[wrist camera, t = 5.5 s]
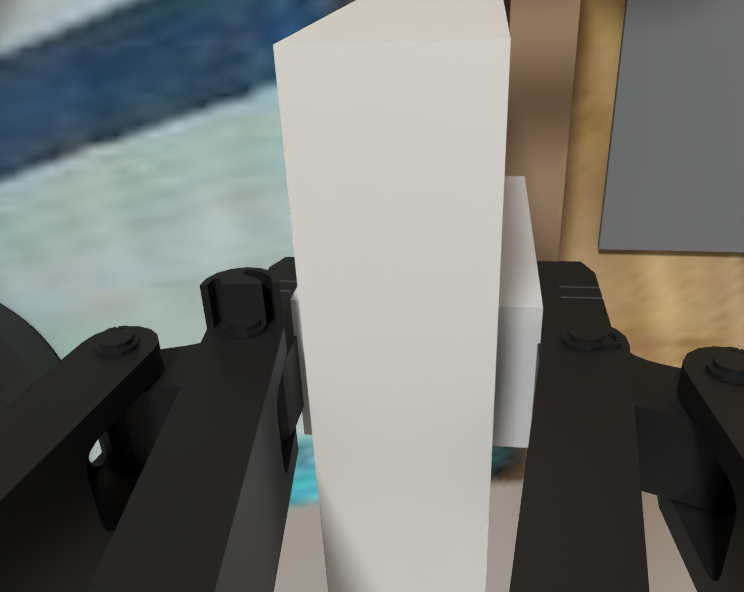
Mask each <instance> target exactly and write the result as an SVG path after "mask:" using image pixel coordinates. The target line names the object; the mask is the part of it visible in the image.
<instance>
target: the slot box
mask: <svg viewBox="0 0 744 592" xmlns="http://www.w3.org/2000/svg"><path fill="white" fill-rule="evenodd" d="M503 1H504V6H505V12H506V17H507V22H508V27H509V33H510V38H511V45H510V67H509V88H508V110H507V132H506V154H505V176H525V182H526V189H527V197H528V204H529V211H530V218H531V225H532V232H533V239H534V247H535V254H536V261H558V256H559V245H560V233H561V222H562V210H563V199H564V187H565V176H566V164H567V152H568V141H569V129H570V118H571V106H572V95H573V83H574V72H575V60H576V49H577V37H578V26H579V14H580V2H581V0H503Z"/></svg>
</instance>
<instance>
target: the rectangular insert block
mask: <svg viewBox="0 0 744 592" xmlns="http://www.w3.org/2000/svg"><path fill="white" fill-rule="evenodd" d="M510 45H511V38H510V33H509V27H508V22H507V17H506V12H505V6H504V1H503V0H356V1H354V2H352V3H350V4H348V5H346V6H345V7H343V8H341V9H339V10H337V11H335V12H333V13H331V14H330V15H328V16H326V17H324V18H322V19H320V20H318V21H317V22H315V23H313V24H311V25H309V26H307V27H305V28H303V29H302V30H300V31H298V32H296V33H294V34H292V35H290V36H289V37H287V38H285V39H283V40H281V41H279V42H277V43H276V44H274V45H273V48H274V58H275V68H276V78H277V88H278V98H279V108H280V118H281V128H282V138H283V148H284V157H285V167H286V177H287V187H288V197H289V207H290V217H291V227H292V237H293V247H294V257H295V267H296V277H297V287H298V297H299V307H300V317H301V326H302V336H303V346H304V356H305V366H306V376H307V386H308V396H309V406H310V416H311V426H312V436H313V446H314V456H315V466H316V476H317V485H318V495H319V505H320V515H321V524H322V535H323V545H324V554H325V565H326V575H327V584H328V592H485V591H486V571H487V547H488V527H489V504H490V483H491V461H492V439H493V417H494V395H495V373H496V351H497V329H498V308H499V286H500V264H501V242H502V220H503V198H504V176H505V154H506V132H507V110H508V88H509V67H510Z"/></svg>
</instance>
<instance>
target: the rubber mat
mask: <svg viewBox="0 0 744 592" xmlns="http://www.w3.org/2000/svg"><path fill="white" fill-rule="evenodd" d="M598 248H599V249H615V250H659V251H703V252H744V0H626V4H625V13H624V22H623V31H622V39H621V48H620V57H619V66H618V74H617V83H616V92H615V101H614V110H613V118H612V127H611V136H610V145H609V154H608V162H607V171H606V180H605V189H604V197H603V206H602V215H601V224H600V233H599V241H598Z"/></svg>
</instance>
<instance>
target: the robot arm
mask: <svg viewBox="0 0 744 592" xmlns="http://www.w3.org/2000/svg"><path fill="white" fill-rule="evenodd" d="M200 290H201V296H202V302H203V307H204V313H205V319H206V325H207V330H206V332H205V335H204V337H203V339H202V341H201V343H198V344H193V345H188V346H181V347H174V348H167V349H160V345H159V340H158V335H157V334H156V333H155V332H154V331H152V330H151V329H148V328H144V327H140V326H118V328H116V327H113V328H109V329H107V330H106V331H103V332H101V333H98V334H95V335H93V336H92V337H90V338H88V339H87V340H85V341H84V342H82V343H81V344H80V345H79V346H78V347H76V348H75V349H74V350H73V351H72V352H70V353H69V354H68V355H67V356H66V357H64V358H63V359H62V360H61V361H60V362H59V360H58V358H57V357H56V355H55V354H54V353H53V351H52V350H51V348H50V347H49V346H48V345H47V343H46V342H45V341H44V340H43V339H42V338H41V336H40V335H39V334H38V333H37V332H36V331H35V330H34V329H33V328H32V327H31V326H29V325H28V324H27V323H26V322H25V321H24V320H23V319H21V318H20V317H19V316H18V315H16V314H15V313H13V312H12V311H11V310H9V309H8V308H6V307H5V306H3V305H2V304H0V592H274V586H275V581H276V575H277V569H278V563H279V557H280V552H281V546H282V541H283V535H284V529H285V523H286V518H287V512H288V506H289V500H290V495H291V489H292V483H293V477H294V472H295V466H296V460H297V455H298V443H297V434H296V425H297V422H298V419H299V417H300V414H301V412H302V414H303V424H304V433H305V434H309V435H312V426H311V416H310V406H309V396H308V386H307V376H306V366H305V356H304V346H303V336H302V326H301V317H300V307H299V297H298V287H297V277H296V267H295V257H285V258H283V259H282V260H280V261H279V262H277V263H275V264H274V265H272V266H271V267H269V269H268V270H266V269H262V268H250V267H245V268H236V269H230V270H226V271H222V272H219V273H216V274H214V275H212V276H210V277H208V278H206V279H205V280H204V281H203V282H202V284H201V285H200ZM98 439H99V443H100V446H101V450H102V453H101V454H100V455H99V456H98V457H97V459H96V460H95V461H93V462H92V463H91V462H90V461H89V454H90V451H91V449H92V448H93V446H94V444H95V443H96V441H97V440H98ZM492 446H505V447H521V448H528V452H527V459H526V467H525V475H524V483H523V490H522V498H521V506H520V514H519V521H518V530H517V537H516V545H515V552H514V560H513V568H512V576H511V584H510V592H649V582H648V569H647V557H646V544H645V533H644V519H643V508H642V495H641V491H644V492H648V493H651V494H655V495H657V498H658V504H659V508H660V511H661V512H662V515H663V517H664V519H665V521H666V524H667V526H668V528H669V530H670V533H671V535H672V537H673V539H674V541H675V544H676V545H677V548H678V550H679V552H680V555H681V557H682V559H683V561H684V563H685V566H686V568H687V570H688V572H689V575H690V577H691V579H692V581H693V583H694V586H695V588H696V590H697V592H744V350H743V349H741V350H739V349H738V348H734V347H716V346H712V347H705V348H698V349H696V350H694V351H692V352H690V353H687V355H686V357H685V358H684V360H683V363H682V368H677V367H672V366H668V365H663V364H659V363H655V362H651V361H648V360H645V359H642V358H640V357H638V356H635V355H633V354H632V353H630V345H629V343H628V341H627V338H626V336H624V335H623V334H622V333H621V332H619V331H618V330H617V329H615V328H613V327H611V324H610V321H609V317H608V314H607V311H606V308H605V304H604V301H603V299H602V294H601V291H600V288H599V285H598V281H597V278H596V275H595V273H594V272H593V271H592V270H590V269H589V268H588V267H587V266H585V265H584V264H583V263H582V262H566V261H536V254H535V247H534V239H533V232H532V225H531V218H530V211H529V204H528V197H527V189H526V182H525V176H504V198H503V220H502V242H501V264H500V286H499V308H498V329H497V351H496V373H495V395H494V417H493V439H492Z"/></svg>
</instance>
